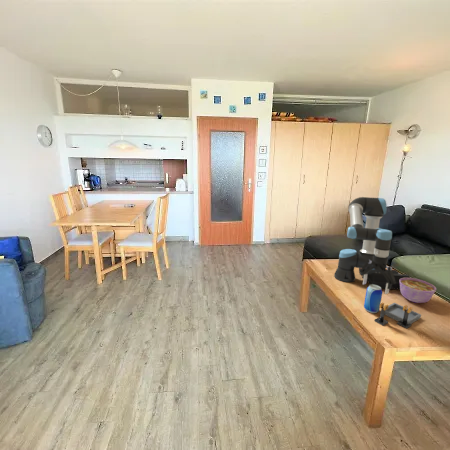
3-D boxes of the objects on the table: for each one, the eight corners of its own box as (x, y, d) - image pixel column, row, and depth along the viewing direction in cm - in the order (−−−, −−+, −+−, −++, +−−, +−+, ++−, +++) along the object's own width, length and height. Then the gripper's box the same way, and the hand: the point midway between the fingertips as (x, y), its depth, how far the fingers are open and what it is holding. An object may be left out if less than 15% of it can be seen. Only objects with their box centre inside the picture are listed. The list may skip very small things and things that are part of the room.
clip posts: (374, 321, 149) (377, 303, 146) (387, 314, 156) (390, 297, 153) (398, 333, 138) (402, 315, 135) (411, 325, 145) (415, 308, 142)
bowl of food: (398, 289, 186) (401, 274, 183) (433, 298, 174) (436, 283, 171) (394, 300, 171) (397, 284, 168) (432, 311, 159) (436, 294, 156)
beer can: (371, 314, 155) (375, 291, 151) (360, 307, 163) (364, 284, 159) (382, 312, 157) (386, 289, 153) (371, 305, 165) (375, 283, 161)
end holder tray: (380, 312, 157) (381, 309, 157) (393, 306, 165) (394, 302, 164) (407, 326, 145) (408, 322, 144) (420, 318, 152) (421, 314, 151)
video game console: (393, 276, 209) (396, 264, 206) (412, 291, 184) (415, 278, 182) (357, 274, 211) (359, 263, 209) (371, 289, 187) (373, 276, 185)
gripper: (357, 250, 159) (352, 281, 164) (400, 263, 138) (393, 299, 143) (364, 248, 163) (359, 279, 168) (407, 261, 142) (400, 296, 147)
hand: (375, 288), depth 156 cm, fingers open, 13 cm apart
